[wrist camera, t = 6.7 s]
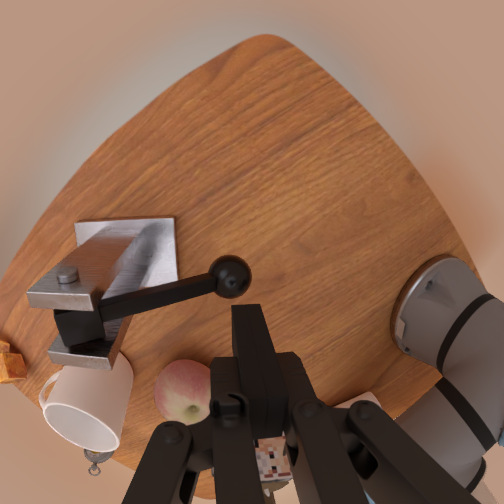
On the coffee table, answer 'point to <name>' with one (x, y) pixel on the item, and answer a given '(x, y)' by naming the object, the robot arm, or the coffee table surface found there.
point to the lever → (154, 299)
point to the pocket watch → (97, 458)
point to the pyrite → (11, 365)
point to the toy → (271, 460)
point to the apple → (183, 391)
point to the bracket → (107, 278)
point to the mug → (89, 404)
